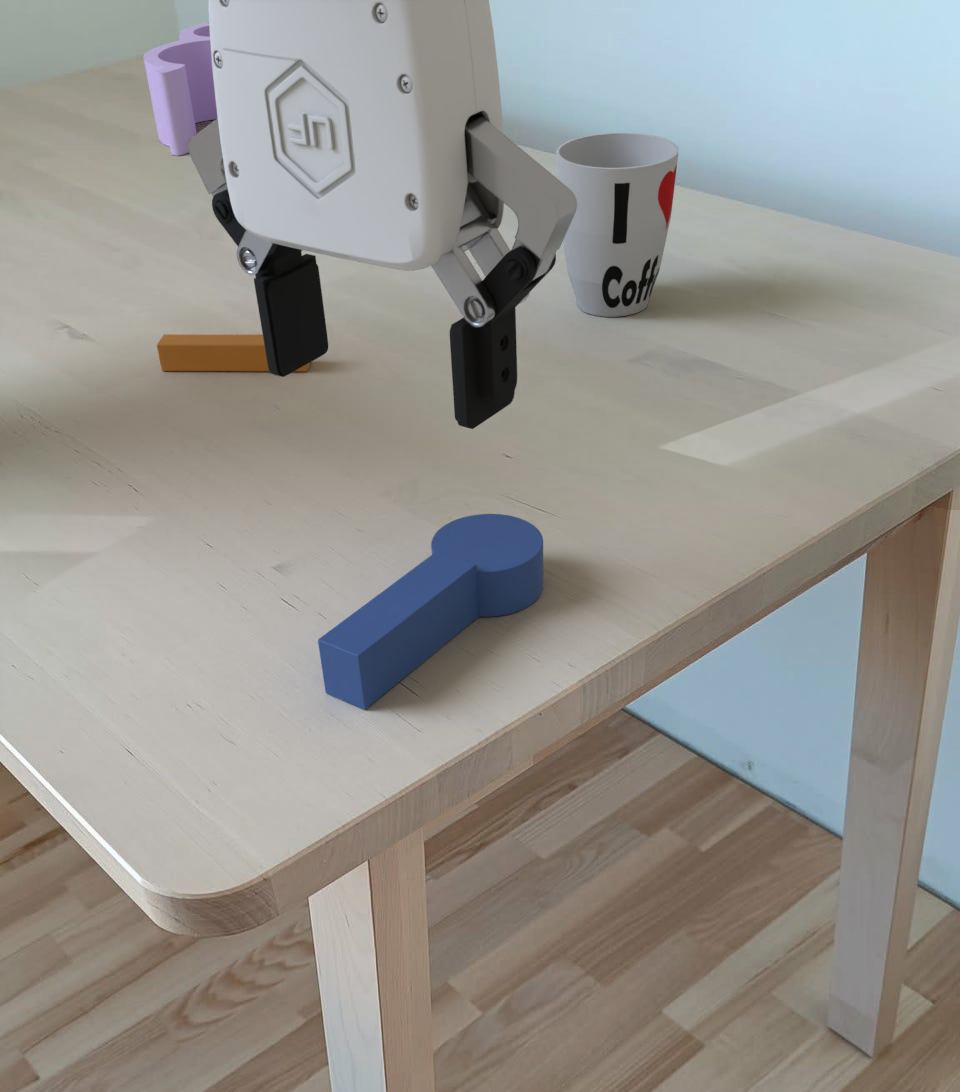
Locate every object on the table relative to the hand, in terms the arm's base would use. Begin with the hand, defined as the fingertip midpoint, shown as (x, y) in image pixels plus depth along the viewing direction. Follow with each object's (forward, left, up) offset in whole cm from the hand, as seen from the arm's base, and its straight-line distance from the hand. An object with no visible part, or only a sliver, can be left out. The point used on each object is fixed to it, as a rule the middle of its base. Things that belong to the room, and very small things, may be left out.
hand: (389, 388), depth 52 cm
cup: (+9, +44, -13) cm, 46 cm away
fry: (-16, +33, -13) cm, 39 cm away
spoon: (+1, +2, -13) cm, 13 cm away
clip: (-31, +91, -13) cm, 97 cm away
